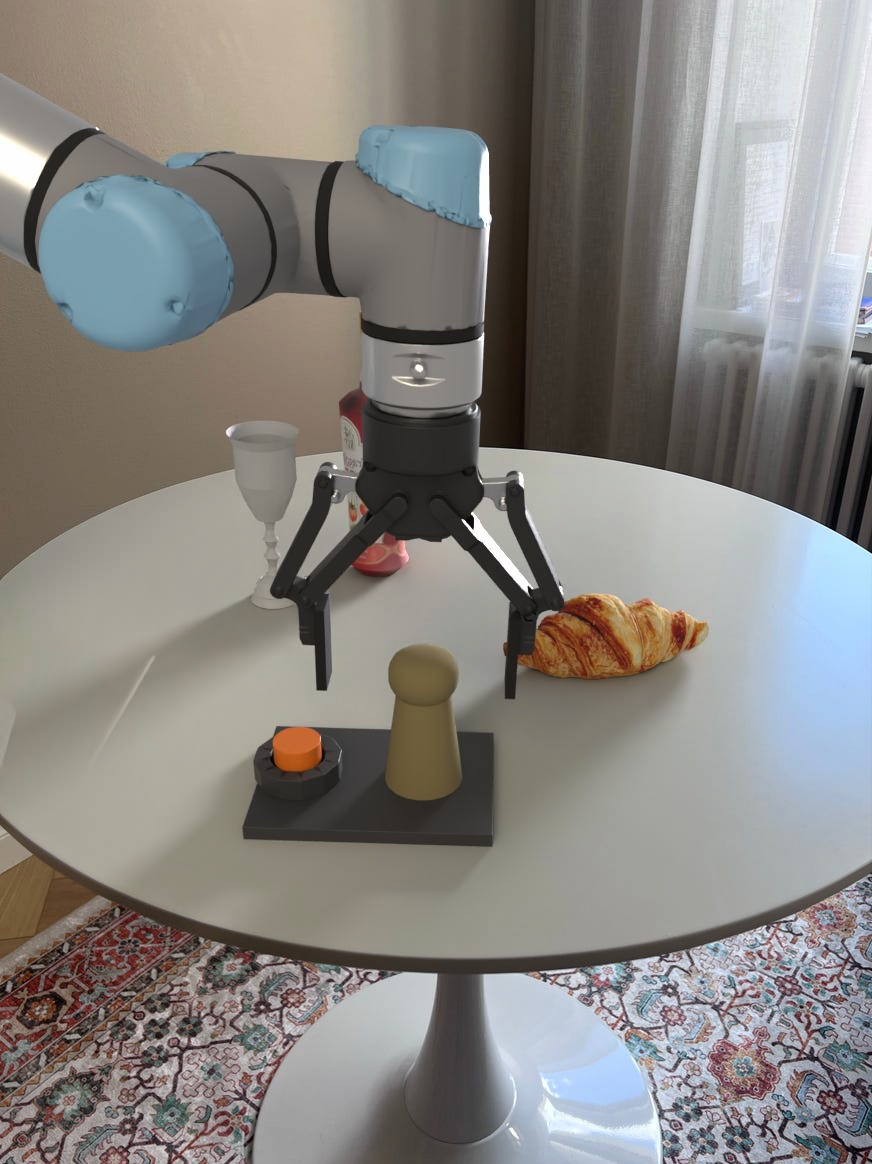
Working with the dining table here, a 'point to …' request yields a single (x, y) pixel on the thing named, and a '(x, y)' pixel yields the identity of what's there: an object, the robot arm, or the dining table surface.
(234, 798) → the dining table surface
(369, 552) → the liquor
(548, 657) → the croissant
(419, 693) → the cork
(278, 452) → the chalice
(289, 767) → the switch
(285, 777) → the base
